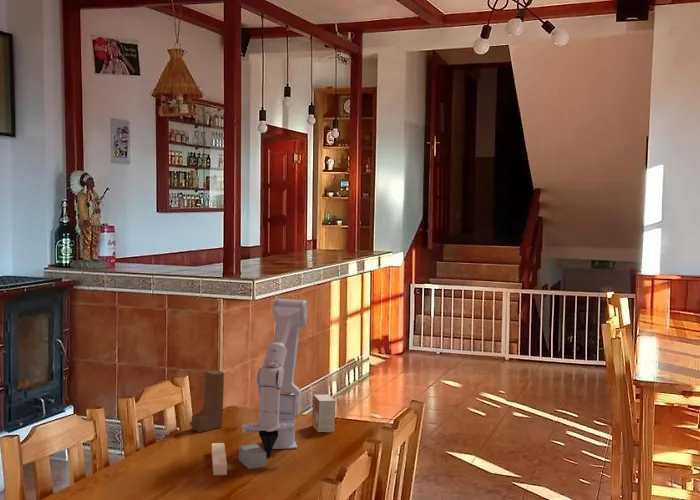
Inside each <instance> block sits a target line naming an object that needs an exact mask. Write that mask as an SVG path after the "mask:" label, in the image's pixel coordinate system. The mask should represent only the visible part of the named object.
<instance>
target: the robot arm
mask: <svg viewBox="0 0 700 500" xmlns="http://www.w3.org/2000/svg"><path fill="white" fill-rule="evenodd" d="M308 304H309V303H308V301H307V300H306V299H288V298H279V297H276V298H275V300H274V301H273V304H272V316H273V319H274V320H273V321H274V322H275V329H274V333H273V334H274V335H273V340H272V341H273V342H272V343H271V344H269V345H268V347H267V348H266V353H265V357H264V361H263V363H262V364H263V365H262V367H261V368H259V369H258V371H257V375H256V384H257V394H259V395H258V396H259V398H258V421H257V422H255V423H246V424H242V426H241V428H242V429H241V433H242V434H247V433H258V435H259V439H260V440H261V442H262V446H263V450H264V451H265V452H266V459H270V458H271V455H272V451H273V449H274V450H277V449H283V450H284V449H297V448H298V445H297V442H296V440H295V439H296V417H298V416H299V415H300V414H301V410H302V407H303V404H302V403H303V399H302V395H303V393H302V390H301V389H300V388H299V387H298V386H297V385H296V384H295V376H296V375H295V373H296V367H297V365H296V364H297V358H298V357H297V355H298V348H299V339H300V333H301V330H302V329H304V328H306V326H307V322H308V316H309V305H308ZM287 393H288V394H287Z"/></svg>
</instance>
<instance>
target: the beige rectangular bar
mask: <svg viewBox="0 0 700 500" xmlns="http://www.w3.org/2000/svg"><path fill="white" fill-rule="evenodd" d="M211 463H212V475H213V476H227V475H228V462H227V454H226V447H225V442H215V443H214V442H213V443H211Z"/></svg>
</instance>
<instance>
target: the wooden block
mask: <svg viewBox="0 0 700 500" xmlns="http://www.w3.org/2000/svg"><path fill="white" fill-rule="evenodd" d="M224 384H225V373H224V372H223V371H220V370H216V369H215V370H207V371H205V372H204V394H203V395H204V396H203V397H204V401H203V404H202V409H201V410H200V411H199V412H198V413H196V414H193V415H191V430H192V431H196V432H197V433H202V432H207V431H208V432H209V431H211V430H218V429H220V428H223V422H224V421H223V417H224V388H225V387H224V386H225V385H224Z"/></svg>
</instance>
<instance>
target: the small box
mask: <svg viewBox="0 0 700 500" xmlns="http://www.w3.org/2000/svg"><path fill="white" fill-rule="evenodd" d="M312 395H313V397H312V413H311V426H312V427H313V428H314V430H315V431H316V432H317V433H318V432H327V433H334V432H335V423H336V420H335V419H336V405H337V401H336V400H335V399H334V398H333V397H332V395H330V394H328V393H327V394H312Z"/></svg>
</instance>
